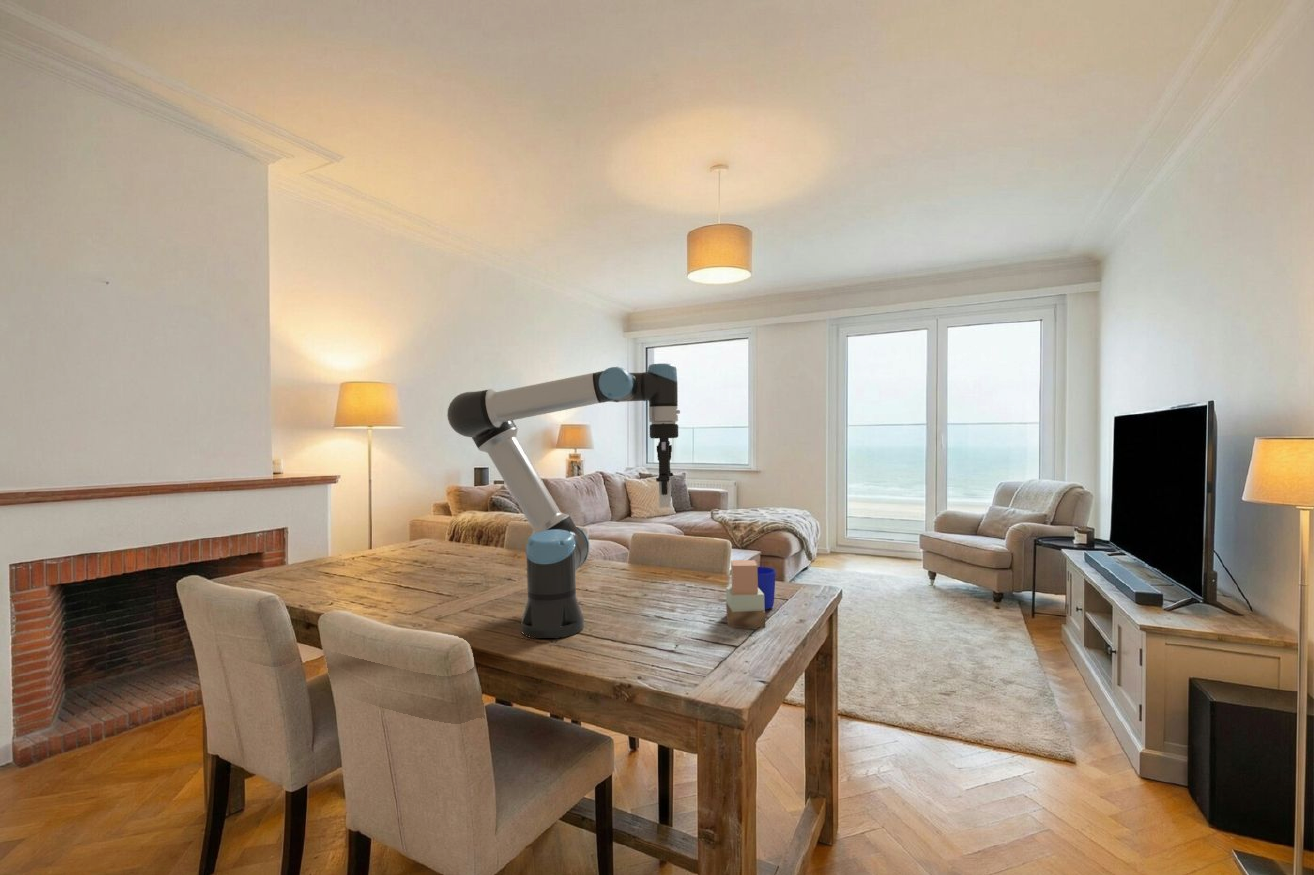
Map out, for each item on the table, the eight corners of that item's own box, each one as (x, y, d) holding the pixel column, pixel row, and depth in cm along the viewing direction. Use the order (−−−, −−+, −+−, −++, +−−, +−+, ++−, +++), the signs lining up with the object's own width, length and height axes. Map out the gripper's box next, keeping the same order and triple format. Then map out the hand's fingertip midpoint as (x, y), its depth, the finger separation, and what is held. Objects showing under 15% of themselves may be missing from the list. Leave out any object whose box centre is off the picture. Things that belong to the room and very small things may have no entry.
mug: (773, 598, 168) (772, 563, 168) (777, 612, 156) (777, 574, 156) (744, 598, 169) (743, 563, 169) (746, 611, 157) (745, 573, 157)
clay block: (733, 594, 147) (732, 565, 147) (731, 587, 153) (731, 560, 153) (757, 594, 147) (757, 565, 147) (755, 587, 153) (754, 560, 153)
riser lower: (728, 628, 146) (727, 612, 146) (726, 616, 155) (726, 601, 155) (765, 628, 145) (765, 612, 145) (761, 616, 154) (761, 601, 154)
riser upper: (732, 612, 146) (731, 595, 146) (726, 602, 154) (726, 587, 154) (764, 610, 146) (764, 594, 146) (757, 601, 154) (756, 585, 154)
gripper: (677, 422, 144) (679, 510, 145) (678, 423, 169) (679, 498, 170) (646, 423, 145) (648, 510, 145) (651, 423, 170) (653, 498, 170)
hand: (665, 504), depth 157 cm, fingers open, 13 cm apart
